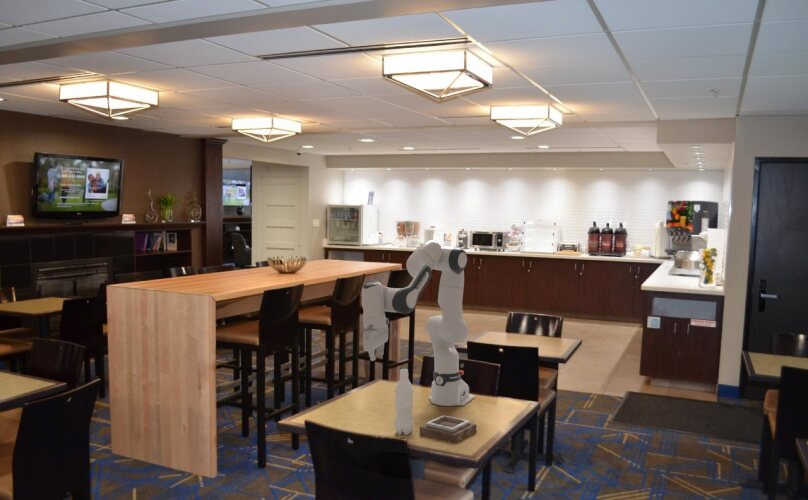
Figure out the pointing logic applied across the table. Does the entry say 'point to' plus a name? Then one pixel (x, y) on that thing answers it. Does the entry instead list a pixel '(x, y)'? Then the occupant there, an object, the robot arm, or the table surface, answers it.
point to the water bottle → (404, 404)
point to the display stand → (448, 428)
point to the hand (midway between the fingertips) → (377, 357)
